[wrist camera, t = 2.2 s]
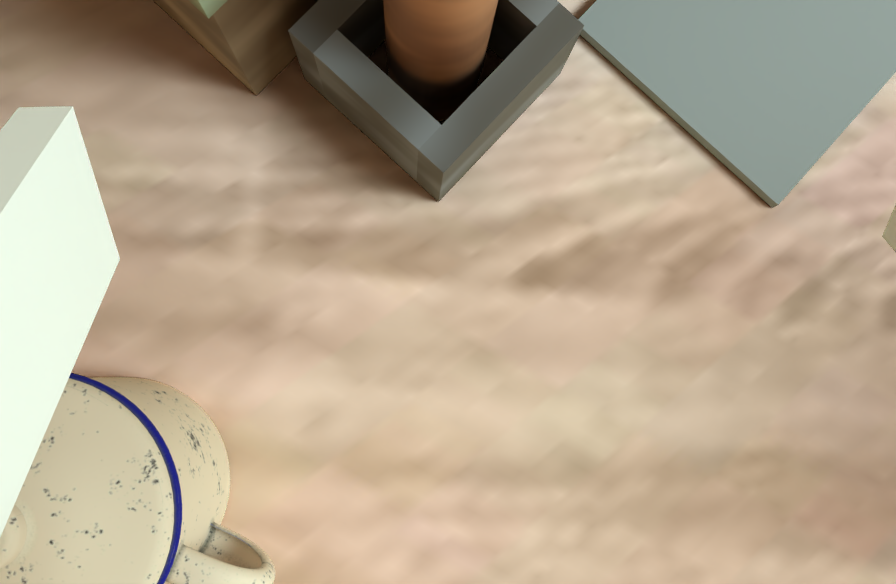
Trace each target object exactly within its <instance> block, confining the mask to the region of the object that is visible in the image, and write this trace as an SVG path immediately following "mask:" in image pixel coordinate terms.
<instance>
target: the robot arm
mask: <svg viewBox="0 0 896 584" xmlns="http://www.w3.org/2000/svg"><path fill="white" fill-rule="evenodd" d="M882 237H883V238H884V239H885V240H886V241H887V242H888V244H889V245H890V246H891V247H892V248H893V250H894V251H895V252H896V205H895V207H894V210H893V212H892V214H891V217H890V219H889V221H888V224H887V226H886V228H885V231H884V233H883V236H882ZM119 260H120V257H119V254H118V251H117V248H116V244H115V241H114V238H113V235H112V231H111V228H110V225H109V222H108V218H107V215H106V212H105V209H104V206H103V202H102V199H101V196H100V193H99V189H98V186H97V183H96V180H95V177H94V173H93V170H92V167H91V164H90V160H89V157H88V154H87V151H86V147H85V144H84V141H83V138H82V135H81V131H80V128H79V125H78V122H77V118H76V115H75V112H74V109H73V106H60V107H18V109H17V110H16V111H15V113H14V114H13V115H12V116H11V118H10V119H9V120H8V121H7V123H6V124H5V125H4V126H3V128H2V129H1V130H0V537H1V534H2V532H3V530H4V527H5V525H6V523H7V520H8V518H9V516H10V514H11V511H12V509H13V507H14V504H15V502H16V500H17V497H18V495H19V493H20V490H21V488H22V486H23V483H24V481H25V479H26V476H27V474H28V472H29V469H30V467H31V465H32V462H33V460H34V458H35V455H36V453H37V451H38V448H39V446H40V444H41V441H42V439H43V437H44V434H45V432H46V430H47V427H48V425H49V423H50V420H51V418H52V416H53V413H54V411H55V409H56V407H57V404H58V402H59V400H60V397H61V395H62V393H63V390H64V388H65V386H66V383H67V381H68V379H69V376H70V374H71V372H72V369H73V367H74V365H75V362H76V360H77V358H78V355H79V353H80V351H81V348H82V346H83V344H84V341H85V339H86V337H87V334H88V332H89V330H90V327H91V325H92V323H93V320H94V318H95V316H96V313H97V311H98V309H99V306H100V304H101V302H102V300H103V297H104V295H105V293H106V290H107V288H108V286H109V283H110V281H111V279H112V276H113V274H114V272H115V269H116V267H117V265H118V262H119Z"/></svg>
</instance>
